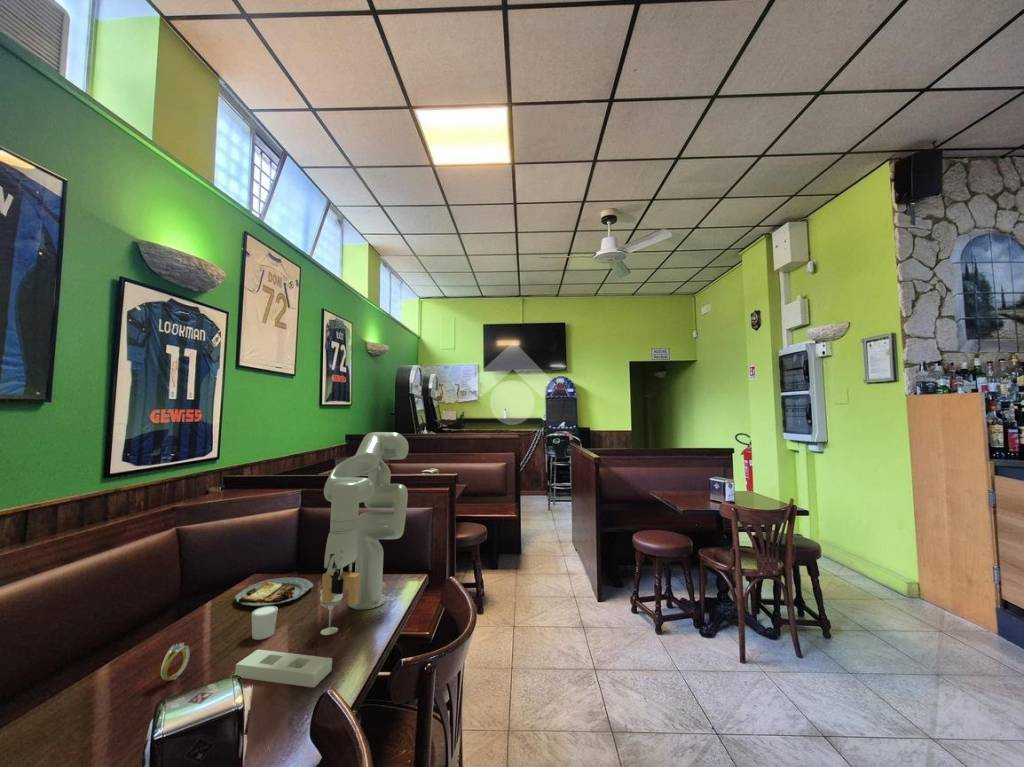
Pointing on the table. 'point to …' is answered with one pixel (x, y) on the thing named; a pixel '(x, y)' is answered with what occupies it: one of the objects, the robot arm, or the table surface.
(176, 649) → the bracelet
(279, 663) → the slotted rail
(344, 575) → the staple clip
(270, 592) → the food plate
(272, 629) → the white tapered cylinder
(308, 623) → the table surface
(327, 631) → the wineglass
